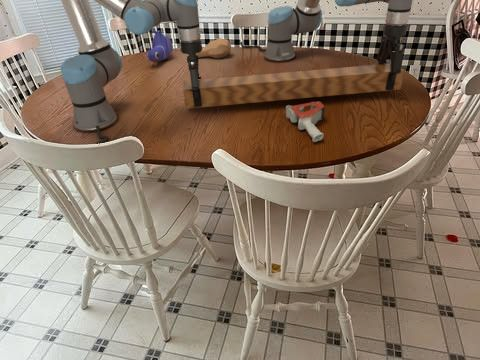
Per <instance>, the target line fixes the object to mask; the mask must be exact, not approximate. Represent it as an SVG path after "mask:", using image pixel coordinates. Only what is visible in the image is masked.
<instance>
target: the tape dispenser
mask: <svg viewBox="0 0 480 360" xmlns="http://www.w3.org/2000/svg"><path fill="white" fill-rule="evenodd" d="M305 107H310V109H309V110H306V111H304V109H305ZM285 115H286V118H288V119H290V123H297V128H298V130H300V131H302V130H306V132H307V134H308V135H309V136H310V138H311V140H312V142H314V143H316V142H319V141H321V140H323V138H324V133H323V132H321V131H320V129H319V128H318V127H317V126H315V125H317V123H318V121H322V120H323V118H324V115H325V105H324V104H323V103H322V102H321V101H319V100H318V101H311V102H306V103H301V104H295V105H290V104H288V105H286V106H285Z"/></svg>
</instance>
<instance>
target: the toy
mask: <svg viewBox="0 0 480 360" xmlns="http://www.w3.org/2000/svg"><path fill="white" fill-rule="evenodd" d="M150 32H151V33H152V34H153V33H154V35H153V38H152V43H151V48H150V49H147V50H148V51H147V52H146V58H147V59H148V61H150V62H152V63H153V65H154V67H156V66H157V63H158V62H162V61H164V60H166V59H168V58H169V57H170V56H171V55H172V54H173V50H174V46H173V43H172V40H171V38H170V37H169V35H168V34H164V33H163V32H162V31H161V30H158V29H157V30H151V31H150ZM151 33H150V34H151Z"/></svg>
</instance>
